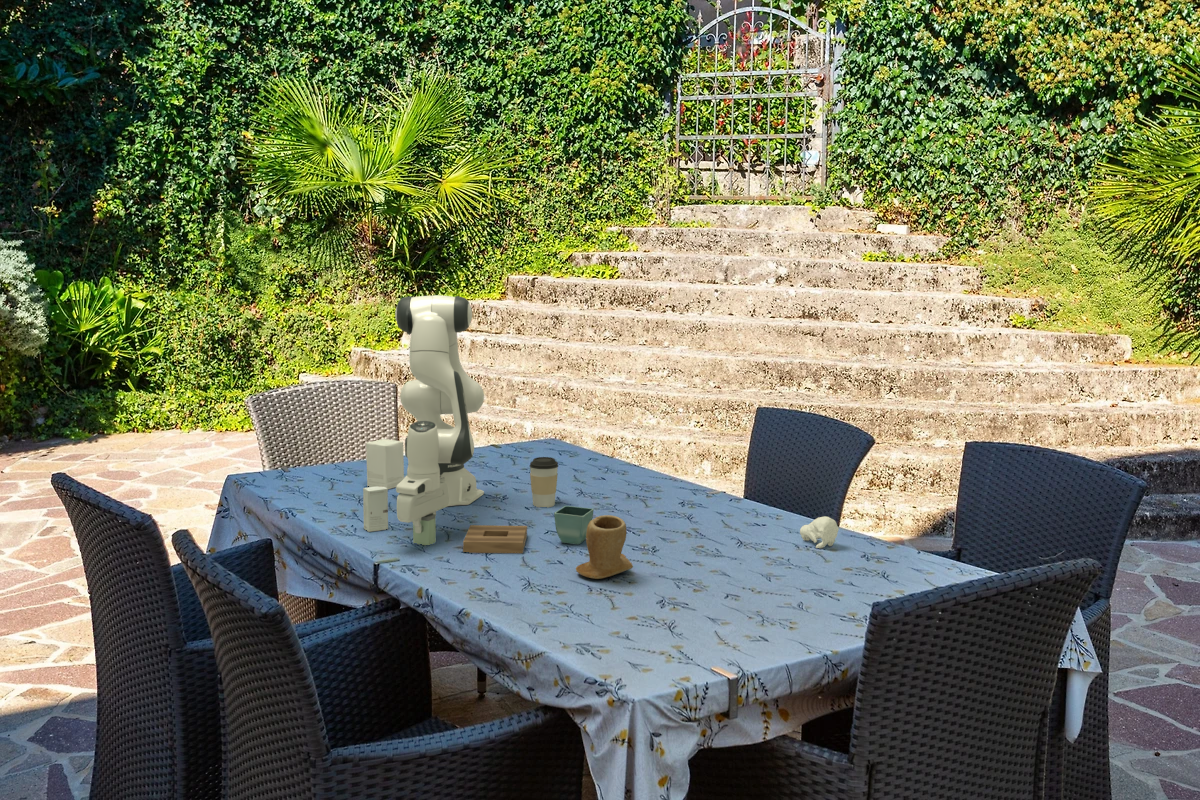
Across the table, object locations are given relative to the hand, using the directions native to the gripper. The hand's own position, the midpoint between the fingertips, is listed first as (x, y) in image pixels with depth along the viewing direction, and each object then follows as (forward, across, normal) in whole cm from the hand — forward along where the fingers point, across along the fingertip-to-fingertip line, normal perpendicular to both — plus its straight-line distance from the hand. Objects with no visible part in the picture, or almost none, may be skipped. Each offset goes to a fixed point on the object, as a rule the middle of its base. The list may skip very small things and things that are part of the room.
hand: (424, 530), depth 300 cm
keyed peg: (+4, 0, 0) cm, 4 cm away
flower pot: (+4, -20, +36) cm, 41 cm away
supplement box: (+4, -48, -48) cm, 68 cm away
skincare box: (+4, -5, -20) cm, 21 cm away
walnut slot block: (+4, -8, +18) cm, 20 cm away
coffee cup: (+4, -51, +10) cm, 52 cm away
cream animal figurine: (+4, -49, +97) cm, 109 cm away
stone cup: (+4, +1, +56) cm, 56 cm away
